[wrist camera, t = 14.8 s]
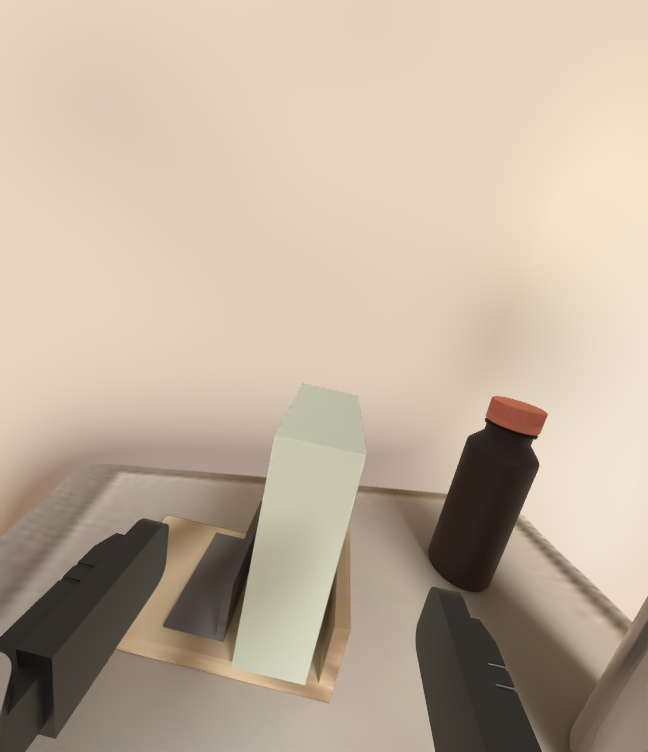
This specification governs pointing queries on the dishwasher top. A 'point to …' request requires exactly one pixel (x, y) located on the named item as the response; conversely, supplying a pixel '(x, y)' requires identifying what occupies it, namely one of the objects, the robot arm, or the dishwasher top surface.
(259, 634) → the book
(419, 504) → the dishwasher top surface
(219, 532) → the rack
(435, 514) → the dishwasher top surface
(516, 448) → the bottle
